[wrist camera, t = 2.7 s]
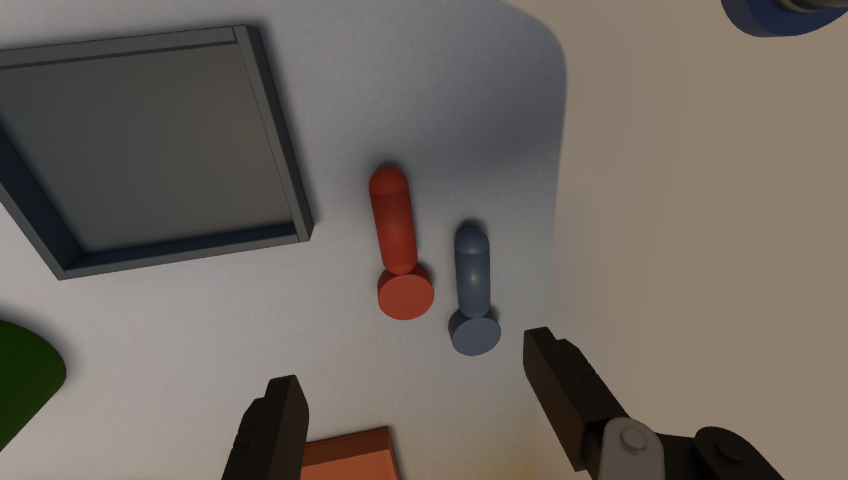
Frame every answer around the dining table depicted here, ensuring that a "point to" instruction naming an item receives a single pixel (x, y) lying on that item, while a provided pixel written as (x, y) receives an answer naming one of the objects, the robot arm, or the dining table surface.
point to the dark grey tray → (147, 150)
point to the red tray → (351, 458)
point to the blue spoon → (473, 296)
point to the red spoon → (398, 248)
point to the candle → (25, 377)
